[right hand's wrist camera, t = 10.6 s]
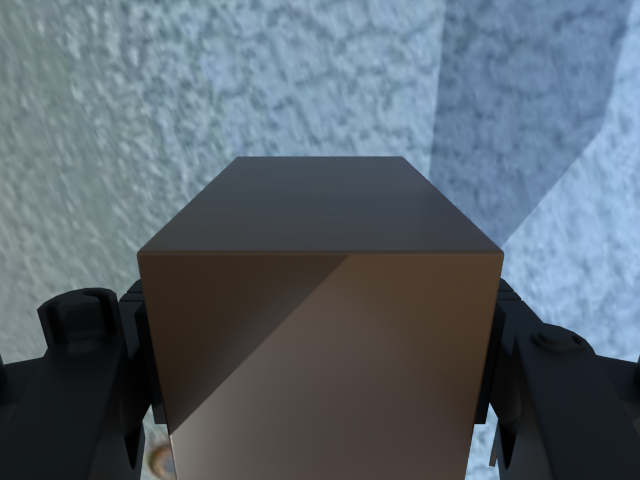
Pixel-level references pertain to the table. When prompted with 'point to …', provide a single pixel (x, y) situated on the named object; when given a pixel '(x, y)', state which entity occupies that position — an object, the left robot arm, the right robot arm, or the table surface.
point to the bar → (320, 323)
